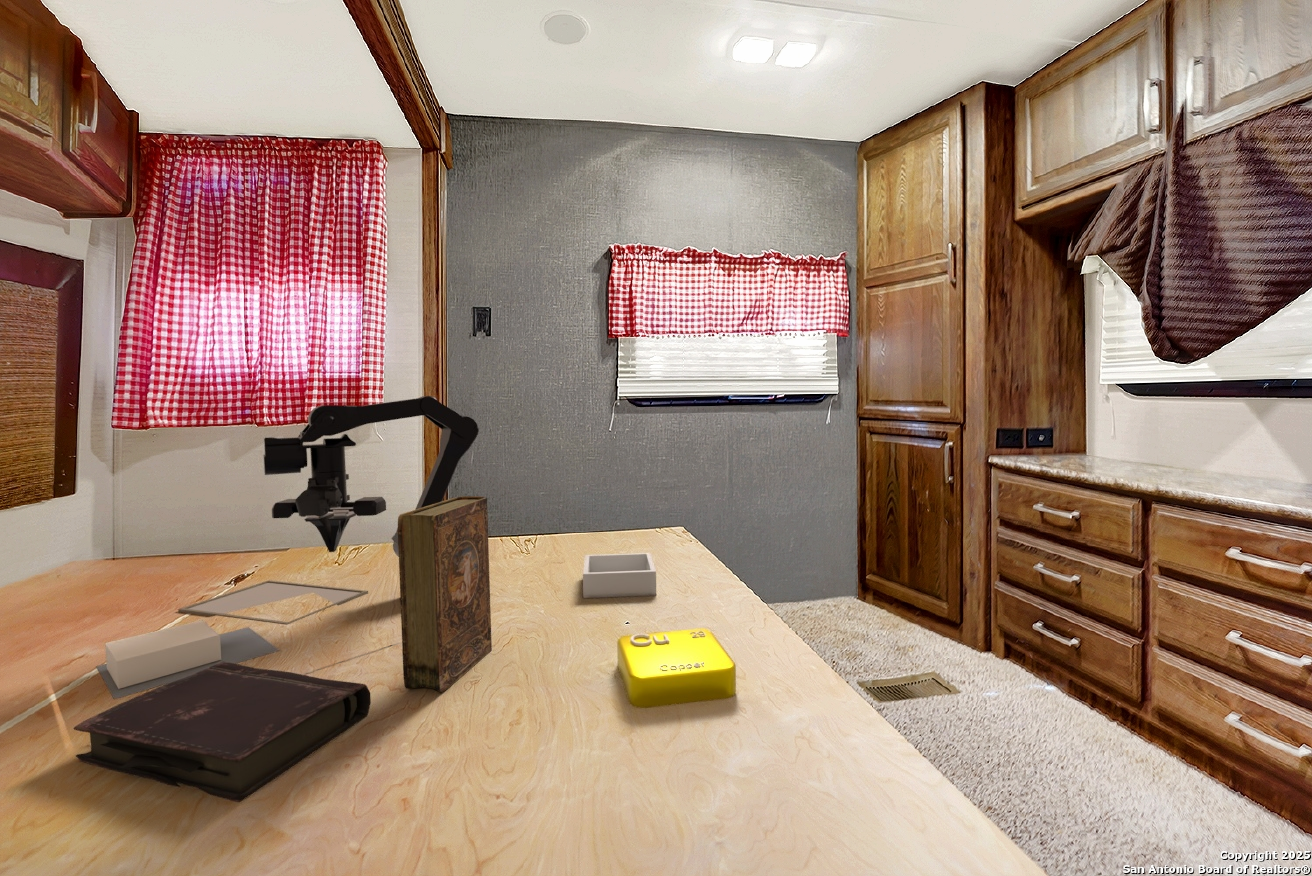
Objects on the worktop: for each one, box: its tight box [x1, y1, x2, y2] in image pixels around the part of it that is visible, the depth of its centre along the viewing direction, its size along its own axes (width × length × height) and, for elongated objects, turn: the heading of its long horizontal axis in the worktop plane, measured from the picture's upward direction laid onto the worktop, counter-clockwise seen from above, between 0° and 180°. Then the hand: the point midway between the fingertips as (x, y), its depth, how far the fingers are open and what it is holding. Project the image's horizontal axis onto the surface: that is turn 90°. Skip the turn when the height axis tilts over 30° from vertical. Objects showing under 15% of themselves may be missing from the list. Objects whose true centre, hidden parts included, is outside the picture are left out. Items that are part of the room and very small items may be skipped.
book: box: [397, 495, 493, 693], centre depth 88 cm, size 16×6×25 cm, turn 168°
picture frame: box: [177, 579, 369, 625], centre depth 120 cm, size 19×1×28 cm
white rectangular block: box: [104, 619, 221, 689], centre depth 90 cm, size 4×10×12 cm
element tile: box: [616, 628, 737, 709], centre depth 85 cm, size 15×15×5 cm
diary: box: [72, 661, 372, 803], centre depth 71 cm, size 19×25×5 cm
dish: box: [582, 552, 657, 599], centre depth 128 cm, size 15×15×5 cm
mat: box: [96, 626, 281, 700], centre depth 93 cm, size 20×16×1 cm
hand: (332, 551), depth 113 cm, fingers closed
